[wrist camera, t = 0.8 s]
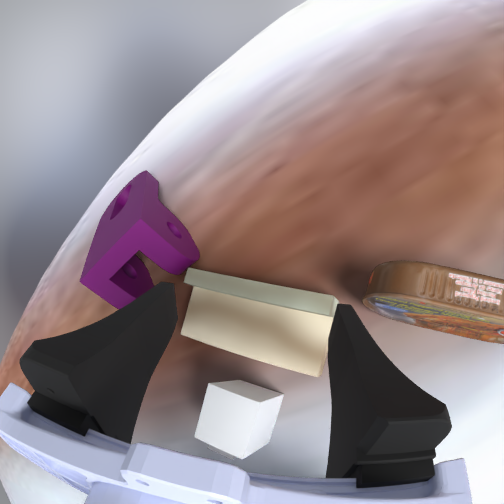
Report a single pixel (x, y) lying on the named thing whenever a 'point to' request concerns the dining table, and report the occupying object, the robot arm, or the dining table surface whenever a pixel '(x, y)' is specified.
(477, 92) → the dining table surface
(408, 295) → the tin
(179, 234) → the mounting bracket
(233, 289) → the rail
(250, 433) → the white block
